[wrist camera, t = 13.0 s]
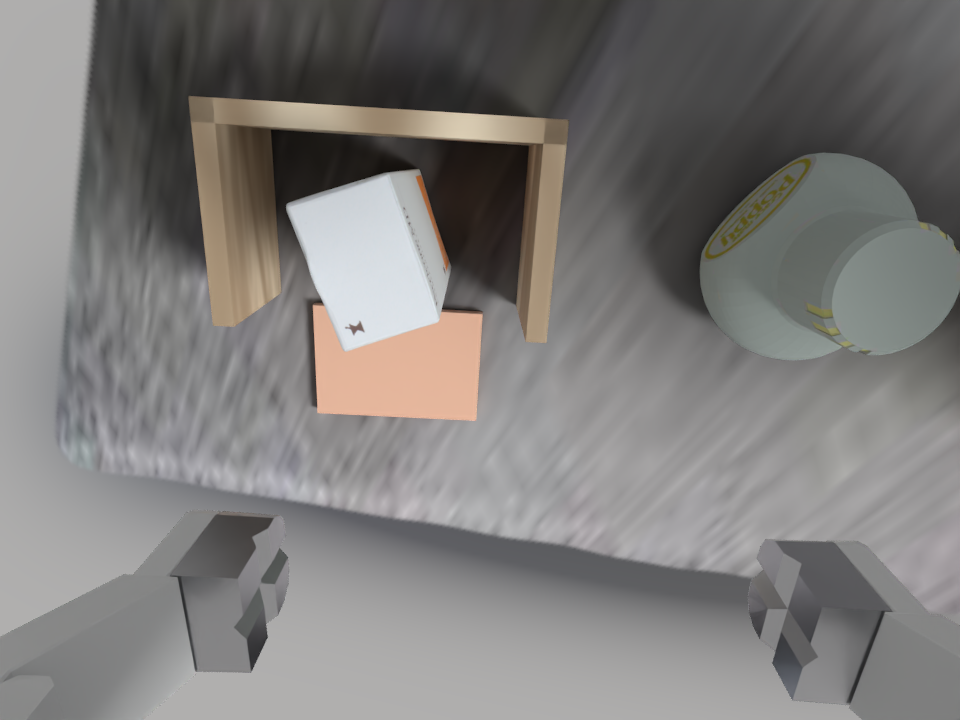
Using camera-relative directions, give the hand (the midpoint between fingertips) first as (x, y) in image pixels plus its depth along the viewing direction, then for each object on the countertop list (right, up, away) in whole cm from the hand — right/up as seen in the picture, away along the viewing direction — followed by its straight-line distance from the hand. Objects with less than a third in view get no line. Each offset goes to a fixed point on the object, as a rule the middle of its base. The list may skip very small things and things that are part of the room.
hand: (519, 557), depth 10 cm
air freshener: (+17, +10, +24) cm, 31 cm away
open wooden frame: (-5, +11, +23) cm, 26 cm away
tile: (-6, +3, +26) cm, 26 cm away
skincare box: (-5, +11, +23) cm, 26 cm away
